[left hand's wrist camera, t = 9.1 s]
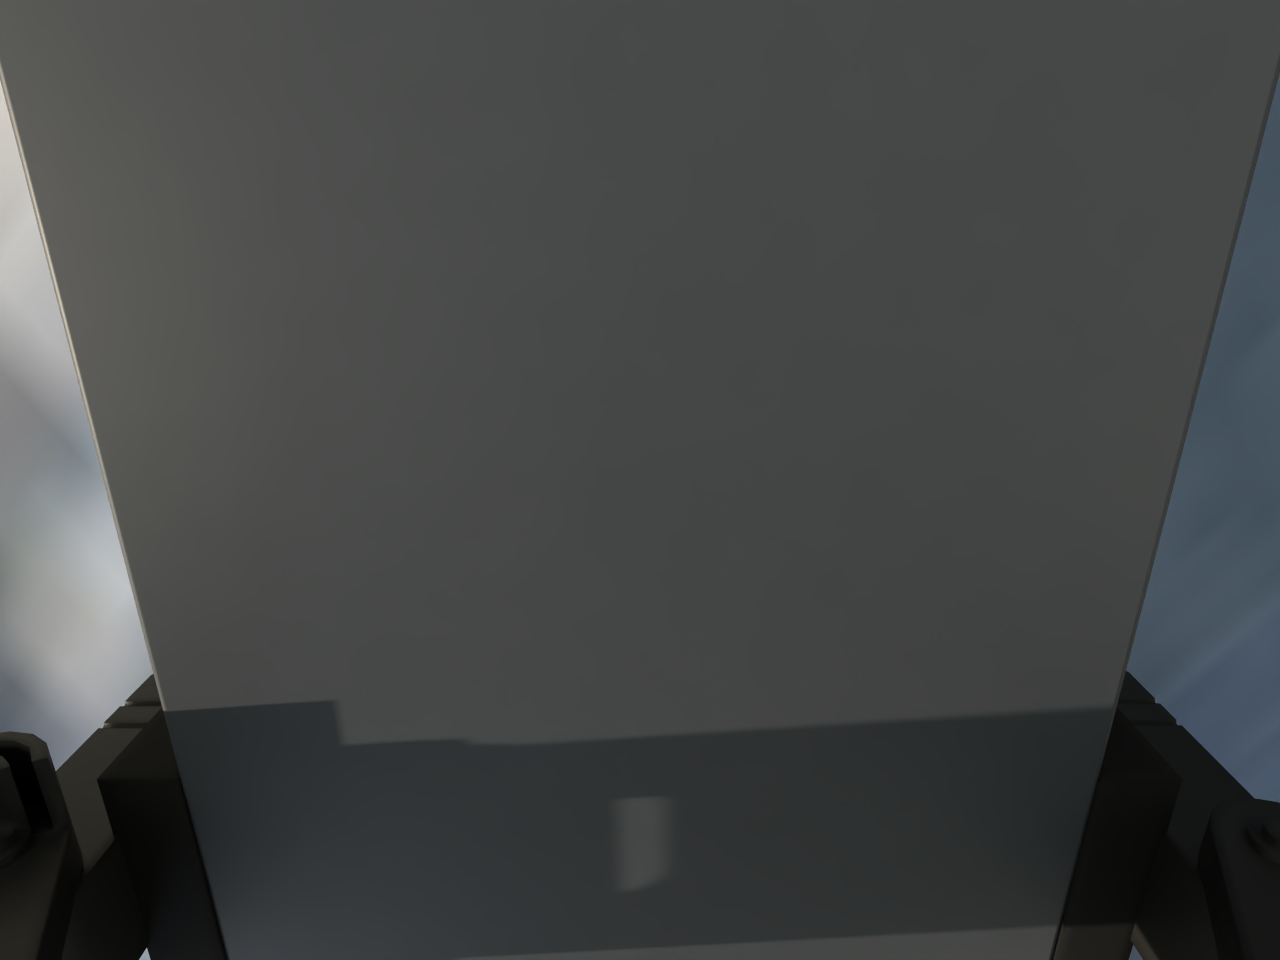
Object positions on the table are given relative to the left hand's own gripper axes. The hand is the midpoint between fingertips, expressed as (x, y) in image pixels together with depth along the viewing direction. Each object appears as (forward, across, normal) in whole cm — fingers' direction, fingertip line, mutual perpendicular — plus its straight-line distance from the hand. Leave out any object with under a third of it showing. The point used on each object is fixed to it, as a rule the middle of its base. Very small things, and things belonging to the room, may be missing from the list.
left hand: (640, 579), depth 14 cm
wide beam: (0, 0, -26) cm, 26 cm away
